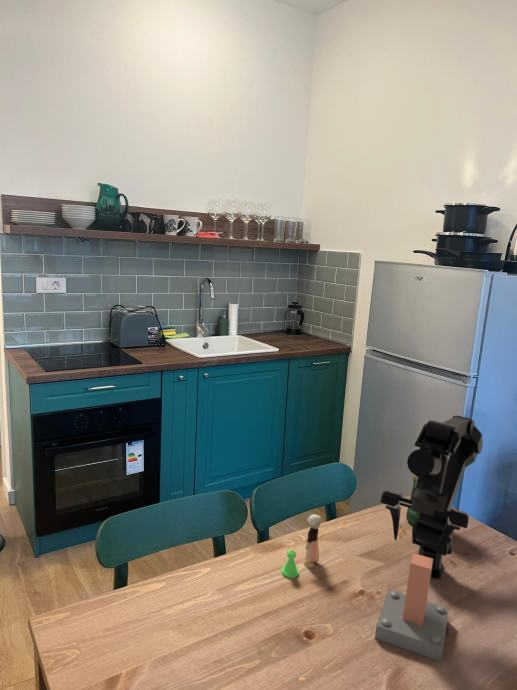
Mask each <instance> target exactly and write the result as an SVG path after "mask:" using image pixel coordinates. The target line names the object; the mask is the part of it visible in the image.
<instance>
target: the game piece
mask: <svg viewBox="0 0 517 690" xmlns="http://www.w3.org/2000/svg"><path fill="white" fill-rule="evenodd" d="M286 557H287V558H288V559H287V560H286V562H285V564H284V565H283V566H281V568H280V569H281V575H283V576H284V577H286V578H290V579H295V578H296V577H297V576H299V574H300V572H299V567H297V565H296V562H295V559H297V558H296V557H297V551H295V550H293V549H289V550H287V552H286Z"/></svg>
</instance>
